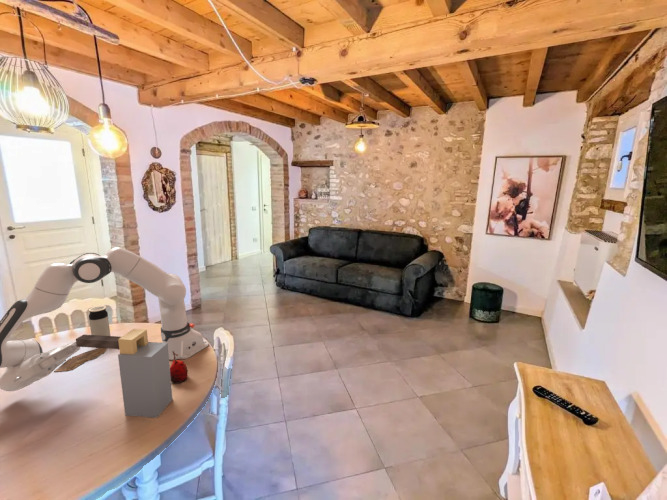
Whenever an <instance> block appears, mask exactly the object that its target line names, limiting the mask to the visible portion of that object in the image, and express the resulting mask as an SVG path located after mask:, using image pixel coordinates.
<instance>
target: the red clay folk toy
mask: <svg viewBox="0 0 667 500" xmlns="http://www.w3.org/2000/svg"><path fill="white" fill-rule="evenodd" d="M172 352H173V351H172ZM172 355H174V360H172V362H171V365H170V376H171V384H172V383H173V384H175V383H176V384H177V383H179V384H180V383H182V382H185V381H186V380H188V377H189V375H188V374H189V373H188V371H189V370H188V368H187V364H186V363H185V361H183V360H181V359H175V358H176V357H175V355H176V356H178V354H175V353H174V352H173V354H172Z"/></svg>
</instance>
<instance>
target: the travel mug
mask: <svg viewBox="0 0 667 500" xmlns="http://www.w3.org/2000/svg"><path fill="white" fill-rule="evenodd" d="M88 312H89V314H88V321H89V328H90V335H100V336H111V329H110V321H109V312H108V311H107V306H106V305H96V306H92V307H90V308H89V309H88Z"/></svg>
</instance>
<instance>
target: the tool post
mask: <svg viewBox="0 0 667 500" xmlns="http://www.w3.org/2000/svg"><path fill="white" fill-rule="evenodd" d="M120 337H121V338H119V339H118V342H119V349H118V350H119V354H118V355H117V358H118V366H119V368H118V369H119V376H120V382H121V392H122V399H123V400H122V401H123V408H124V409H123V410H124V416H129V417H131V416H132V417H144V418H145V417H146V418H156V419H158V417H159V416H160V415H161V414H162V412H163V411H164V410H165V409H166V408H167V407H168V405H169V404H171V402H172V401H173V389H172V382H171V376H170V366H171V365H170V360H169V353H168V343H162V342H157V341H156V342H155V341H149V340H148V329H144V328H134V329H131V330H130V331H129V332H126V333H125V334H123V335H122V336H120Z"/></svg>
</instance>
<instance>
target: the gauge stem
mask: <svg viewBox="0 0 667 500" xmlns="http://www.w3.org/2000/svg"><path fill="white" fill-rule="evenodd" d="M121 337H122V336H118V335H117V336H116V335H115V336H114V335H110V336H100V335H91V334H82V335H80V336H78V337H76V338H75V342H76V345H77V347H80V348H92V349H97V348H107V349H110V350H112V349H113V350H119V342H118V339H119V338H121Z"/></svg>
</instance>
